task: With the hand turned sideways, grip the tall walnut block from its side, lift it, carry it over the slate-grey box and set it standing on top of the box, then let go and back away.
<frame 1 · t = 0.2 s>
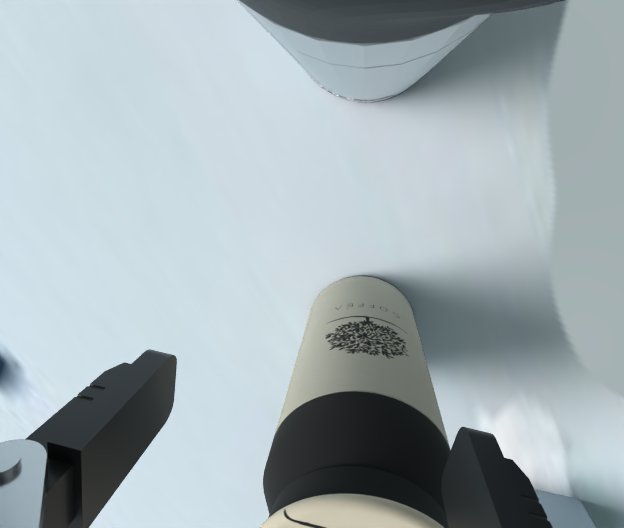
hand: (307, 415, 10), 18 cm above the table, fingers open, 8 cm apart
slate box: (500, 523, 34), on the table
travel mug: (360, 321, 29), on the table
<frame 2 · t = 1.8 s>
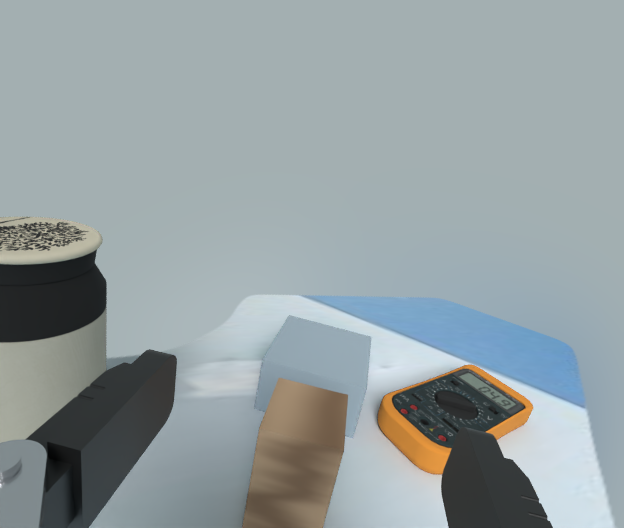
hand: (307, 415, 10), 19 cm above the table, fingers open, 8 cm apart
walnut block: (283, 520, 27), on the table
slate box: (312, 393, 41), on the table
travel mug: (43, 469, 28), on the table
multimeter: (450, 426, 41), on the table
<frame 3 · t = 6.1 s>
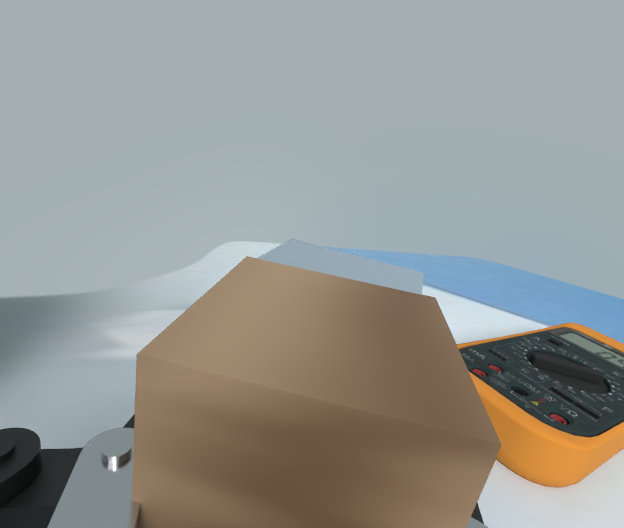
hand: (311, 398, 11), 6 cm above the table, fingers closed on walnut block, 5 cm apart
slate box: (321, 357, 25), on the table
multimeter: (551, 409, 24), on the table
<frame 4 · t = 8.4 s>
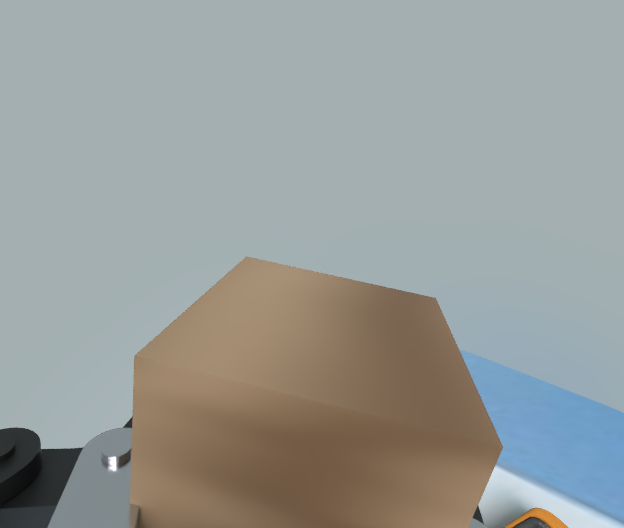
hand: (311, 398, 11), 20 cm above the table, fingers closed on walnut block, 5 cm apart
when the fingers open (13 cm above the table, at t = 10.9 s): walnut block drops 2 cm, point 6 cm above the table.
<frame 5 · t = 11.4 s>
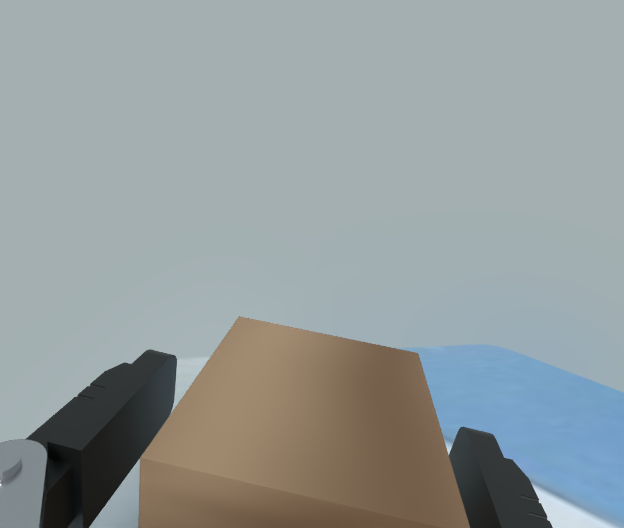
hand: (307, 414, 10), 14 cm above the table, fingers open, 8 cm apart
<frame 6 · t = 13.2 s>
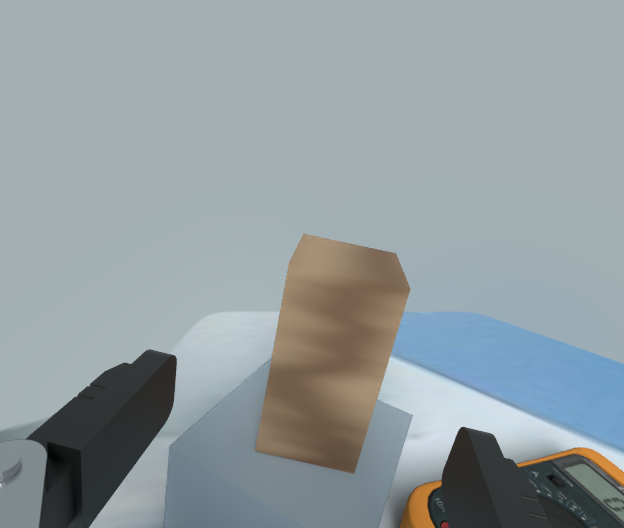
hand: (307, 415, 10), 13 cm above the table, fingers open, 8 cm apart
walnut block: (309, 425, 21), point 6 cm above the table
slate box: (289, 507, 22), on the table
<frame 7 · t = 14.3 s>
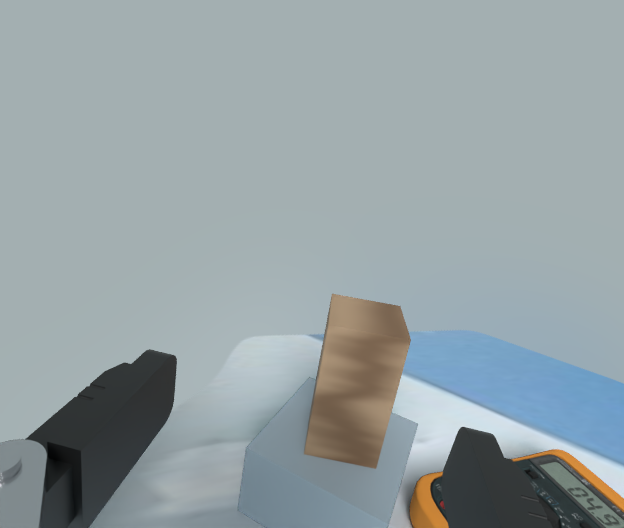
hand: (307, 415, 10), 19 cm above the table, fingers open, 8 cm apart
walnut block: (340, 434, 28), point 6 cm above the table
slate box: (326, 494, 30), on the table
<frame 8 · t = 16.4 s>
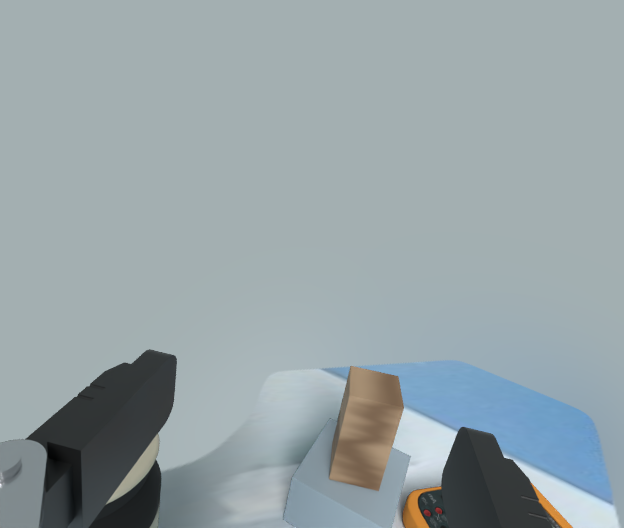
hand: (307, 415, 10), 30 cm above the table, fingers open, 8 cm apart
walnut block: (354, 465, 39), point 6 cm above the table
slate box: (343, 507, 41), on the table
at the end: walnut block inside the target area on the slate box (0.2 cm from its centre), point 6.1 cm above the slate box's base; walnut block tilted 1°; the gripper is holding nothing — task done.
